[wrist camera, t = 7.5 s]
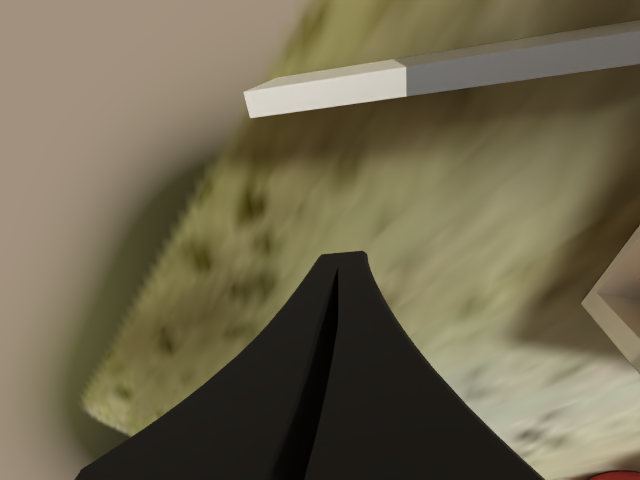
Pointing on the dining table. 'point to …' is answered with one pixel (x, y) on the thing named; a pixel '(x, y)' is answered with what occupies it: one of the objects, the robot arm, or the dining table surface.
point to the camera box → (620, 300)
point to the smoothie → (618, 476)
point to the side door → (451, 70)
